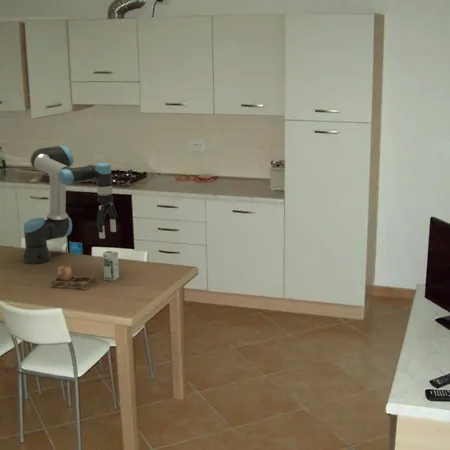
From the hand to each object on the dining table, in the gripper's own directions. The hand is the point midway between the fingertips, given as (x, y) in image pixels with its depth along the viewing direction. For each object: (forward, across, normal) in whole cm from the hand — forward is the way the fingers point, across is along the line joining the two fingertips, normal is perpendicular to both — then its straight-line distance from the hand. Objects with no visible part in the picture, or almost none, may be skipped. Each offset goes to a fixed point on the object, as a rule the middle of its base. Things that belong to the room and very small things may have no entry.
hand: (107, 234), depth 354 cm
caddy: (+24, -13, +15) cm, 31 cm away
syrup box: (+24, 0, 0) cm, 24 cm away
